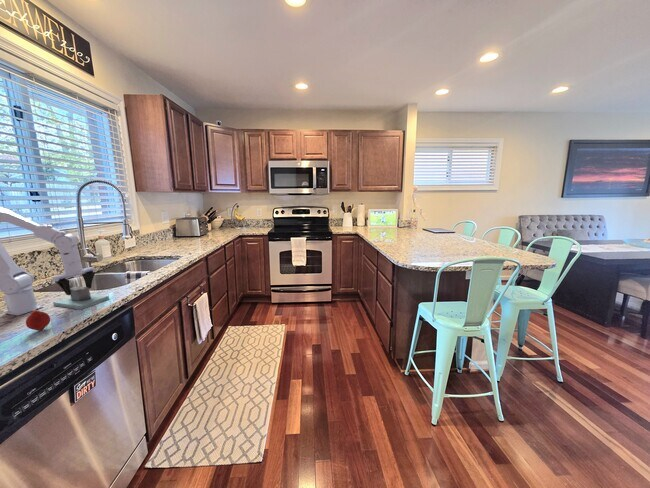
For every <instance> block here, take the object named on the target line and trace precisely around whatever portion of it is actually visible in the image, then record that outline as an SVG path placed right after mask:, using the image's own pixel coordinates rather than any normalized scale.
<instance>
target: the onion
mask: <svg viewBox="0 0 650 488" xmlns="http://www.w3.org/2000/svg"><path fill="white" fill-rule="evenodd" d="M50 323H51V317H50V315H49V314H48V313H47V312H44V311H40V310H38V309H36V310H32V311H31V313H30V314H29V315H28V316H27V318H26V319H25V326H26V328H28V329H30V330H34V331H37V332H40V331H43V330H44V329H45V328H47V326H49V324H50Z"/></svg>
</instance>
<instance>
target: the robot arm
mask: <svg viewBox="0 0 650 488" xmlns="http://www.w3.org/2000/svg"><path fill="white" fill-rule="evenodd" d="M2 223H7V224H11V225H14V226H16V227H19V228H22V229H25V230H27V231H30V232H33V235H34V237H37V238H39V239H42V240H43V241H45V242H49V243H51V244H53V245H54V247H56V249H58V250H59V254H60V258H61V261H62V265H63V270H64V273H60V274H58V275H54V276H51V278H52V282H55V284H57V285H58V286H59V287H61V289H62V290H63V292H64V293H65V295H66V296H70V295H71V290H70V288H71V286H70V280H69V279H70V278H73V277H76V276H81V277H82V278H83V281H84V284H85V287H89V290H90V289H92V286H93V280H94V276H95V274H96V268H95V266H90V267H85V268H83V263H82V260H81V255H80V252H79V249H78V248H79V247H78V244H79V242H80V240H79V236H77V235H75V234H74V233H70V232H69V233H66V231H64V230H63V231H61V230H59V229H57V228H55V227H54V225H52V224H44V223H43V224H38V223H36V222H35V221H32V220H30V219H28V218H26V217H23V216H22V215H20V214H17V213H15V212H14V211H12V210H11V209H8V208H4V207H3V206H0V224H2ZM34 283H35V277H34V276H33V275H32V274H31V273H29V272H28V271H26V269H25V268H23V267H20V266H18V265H17V264H16V262H15V260H13V258H12V256H11V255H10V253H9V252H8V251H7V249H6V248H5V246H4V245H3V243H2V242H1V241H0V291H1V292H2V293H4V294H5V295H4V297H3V301H4V304H5V306H6V307H5V308H6V309H7V311H5V312H4V314H8V315H14V316H20V315H24V314H26V313H27V314H28V313H31V312H32V310H38V309H41V308H43V307H44V306H43V305H38V303H37V301H36V300H37V299H36V297H35V292H34V289H33V284H34Z"/></svg>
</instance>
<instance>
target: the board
mask: <svg viewBox="0 0 650 488" xmlns="http://www.w3.org/2000/svg"><path fill="white" fill-rule="evenodd" d="M90 295H91V299H89V300H86V301H74V300H72V299H71V296H68V297H64V298H62V299H58V300H55V301H53V304H52V305H53V306H54V307H55V306H56V307H60V308H61V307H63V308H69V309H76V310H83V309H86V308H90V307H91V306H95V305H98V304H99V303H102V302H105V301H108V300H110V296H109V295H106V294H97V293H96V294H95V293H90Z"/></svg>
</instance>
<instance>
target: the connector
mask: <svg viewBox="0 0 650 488" xmlns="http://www.w3.org/2000/svg"><path fill="white" fill-rule="evenodd" d="M70 290H71V295H69V297H71V299H72V300H74V301H86V300H89V299H91V295H90V294H91V293H90V292H91V291H90V289H89V287H86V286H73V287H70Z"/></svg>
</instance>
